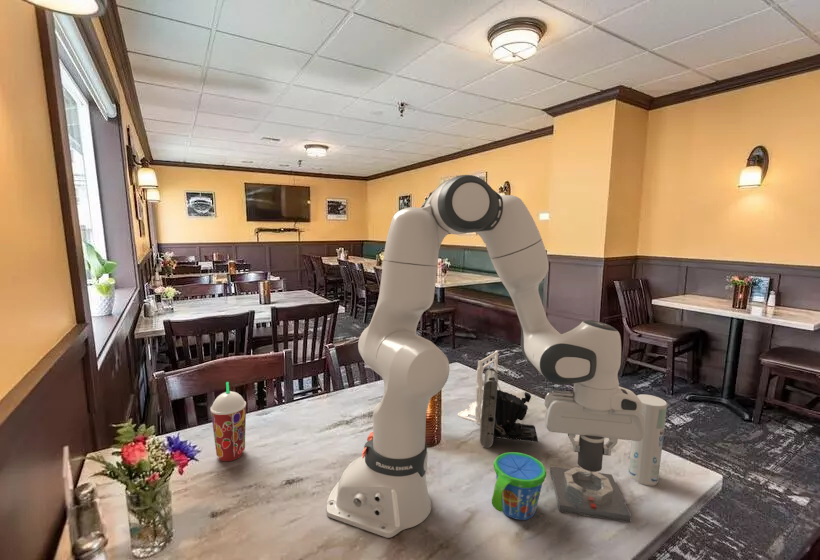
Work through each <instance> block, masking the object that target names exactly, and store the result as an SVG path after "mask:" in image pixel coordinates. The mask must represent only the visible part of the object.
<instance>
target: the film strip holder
mask: <svg viewBox="0 0 820 560" xmlns="http://www.w3.org/2000/svg"><path fill="white" fill-rule="evenodd" d="M491 359H492V360H491ZM487 361H488V362H487ZM492 363H494V364H493V365H494V367H493V369H494V370H495V371H496V372H497V373H498V366H499V365H498V363H499V350H495V351H494V352H493V353H491V354H490V355H488V356H487V357H485V358H482V359H481V360H478V361H477V368H476V389H475V401H473V402H471V403H469V404H468V408H465V410H460V411H458V413H457V417H459V418H461V419H464V420H467V421H471V422H474V423H475V424H477V425H478V426H480V423H481V413H482V402H483V391H484V389H483V387H484V379H483V374H484V370H485V368H486V367H488V366H490V365H491V364H492ZM483 364H484V365H483ZM497 385H498V387H497V389H498V390H501V391H502V389H501V386H500V384H499V382H498V383H497ZM469 416H473V417H474V418H472V417H469Z"/></svg>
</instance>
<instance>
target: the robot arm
mask: <svg viewBox="0 0 820 560" xmlns="http://www.w3.org/2000/svg"><path fill="white" fill-rule="evenodd" d="M471 233H475V234H477V235H478V236H479V237H480V238H481V240H482V241H483V243H484V244H485V247H486V250H487V253H488V256H489V259H490V261H491V264H492V265H493V268H494V270H495V272H496V274H497V275H498V278H499V279H500V281H501V283H502V284H503V286H504V287H505V290H507V291H506V292H507V293H508V294H509V296H510V299H511V301H512V304H513V307H514V311H515V313H516V315H517V319H518V323H519V325H520V331H521V332H520V333H521V335H520V350H521V353H522V355H523V357H524V358H525V359H526V360H527V361H528V362H529V363H530V364H532V365H533V367H535V369H536V370H537V371H538V372H539V373H540V374H541V375H542V376H543V378H544V379H546V380H547V381H549V382H550V383H553V384H555V385H570V384H573V391H567V390H566V391H563V390H562V391H561V390H560V391H559V390H552V391H551V392H550V391H549V392H548V393H546V395H545V397H544V405H545V414H544V426H545V428H546V429H547V431H548V432H550V433H556V434H557V433H558V434H567V436H568V439H569V441H570V443H571V445H570V446H571V450H572V452H574V453H578V452H580V444H579V441H576V440H575V439H576V436H578V435H589V436H598V437H604V439H609V440H608V441H607V442H606V443H604V447H603V456H607V457H608V456H609V457H611V456H612V450H613V449H614V447H616V445H618V441H619V440H625V441H631V440H632V441H641V440H642V439H643V438H644V437H645V419H644V416H643V414H642V413H641V410H642V403H641V401H640V399H639V398H638V397H637V395H636V394H635V393H634V391H632V390H630V389H629V388H625V387H622V386H620V383H619V382H620V381H619V377H618V376H619V375H618V374H619V371H620V368H621V362H622V339H621V338H622V337H621V334H620V332H619V331H618V329H616V328H615V327H614V326H611V325H610V324H608V323H604V322H602V321H598V320H591V319H590V320H589V319H588V320H582V321H581V323H580V324H579V325H577V326H575V327H574V328H573V329H571V330H568V331H567V332H564V333H560V332H559V331H558V329H556V328H555V327H554V326H553V325H552V324H551V323H550V321H549V319H548V317H547V314H546V311H545V308H544V307H545V306H544V305H543V302H542V299H541V296H540V292H539V286H540V283H541V282H542V281H543V280H544V279H545V277H546V276H547V274H548V272H549V268H550V266H549V259H548V253H547V250H546V246H545V244H544V241H543V238H542V236H541V233H540V231H539V229H538V227H537V223H536V222H535V220H534V218H533V216H532V215H531V213H530V211H529V209H528V207H527V206H526V204H525V202H524V201H523V200H522V199H521V198H520V197H519V196H516V195H513V194H512V195H511V194H505V195H501V194H499V193H498V192H497V191H495V190H494V189H493V188H492V187H491V186H490V184H489V183H488V182H487V181H485V180H484V179H482V178H481V177H478V176H476V175H473V174H472V175H471V174H460V175H457V176H454V177H452V178H450V179H448V180H446V181H444V182H442V183H440V184H439V185H438V186H437V187H436V188H435V189H434V190H432V192H431V193H430V194H429V195H428V197H427V198H426V199H425V201H424V203H423V204H422V206H421V207H417V206H413V207H412V206H411V207H405V208H401V209H399V210H397V212H395V214H394V215H393V217H392V219H391V222H390V226H389V228H388V232H387V236H386V241H385V246H384V252H383V260H382V268H381V278H380V285H379V292H378V293H379V294H378V299H377V303H376V307H375V309H374V312H373V315H372V317H371V320H370V323H369V325H368V326H367V327H366V328H364V330H362V333H360V336H359V338H358V342H357V343H358V344H357V347H358V353H359V355H360V356H361V358H362V360H363V361H364V362H365V364H366V366H367V367H368V368H369V369H371V370H372V371H373V372H375V373H376V374H377V375H378V376H380V377H381V378H382V381H383V384H384V388H383V394H382V398H381V400H380V401H379V402H378V403H377V404H376V405H375V406H374V408H373V412H372V431H371V432H369V435H368V437H367V439H366V440H367V441H366V442H365V445H364V446H363V447H364V448H363V450H362V453H361V454H362V455H360V456H359V457H357V458H356V459H354V460H353V461H351V462H350V463H349V464H348V465H347V466H346V468H345V470H344V471H343V473H342V474H341V477H340V480H338V482H337V483H336V484H335V485H334V487H333V488H332V490H331V492H330V494H329V496H328V497H327V501H326V507H325V512H326V516H327V517H329V518H331V519H333V520H336V521H338V522H341V523H344V524H347V525H350V526H353V527H355V528H358V529H361V530H363V531H366V532H370V533H373V534H375V535H378V536H382V537H383V538H387V539H389V538H393V537H394V536H396V535H397V534H399V533H400V532H401V531H404V530H406V529H410V528H413V527H416V526H418V525H419V524H422V522H424V521H425V520H426V519H427V517H429V515H430V513H431V510H432V500H431V497H430V494H429V490H428V484H427V475H426V472H427V470H428V469H427V468H428V447H427V446H428V444H427V441H426V421H427V411H428V407H429V404H430V401H431V399H432V397H434V396H436V395H438V393H439V392H440V391H441V390H442V389H443V388H444V387H445V385H446V383H447V381H448V378H449V375H450V362H449V359H448V357H447V355H446V354H445V353H444V352H443V351H442V350H441V349H440V348H439V347H438V346H437V345H436V344H435V343H434V342H432V341H431V340H430V339H427V338H425V337H423V336H422V335H418V334H417V328H418V324H419V322H420V319H421V318H422V315H423V314H424V312H426V311H427V310H428V309H430V308H431V307H432V305H433V303H434V298H435V290H436V282H437V272H438V266H439V265H438V263H439V251H440V249H441V245H442V242H443V241H444V239H445V238H446V237H447V236H448V235H463V234H471Z"/></svg>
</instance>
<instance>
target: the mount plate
mask: <svg viewBox="0 0 820 560" xmlns="http://www.w3.org/2000/svg"><path fill="white" fill-rule="evenodd" d="M549 470H550V473H549V474H550V477H551V481H552V486H553V492H554V495H555V499H556V503H557V508H558V511H559V512H562V513H568V514H574V515H580V516H586V517H587V516H588V517H594V518H599V519H607V520H612V521H619V522H620V521H621V522H624V523H625V522H626V523H631V519H632V515H631V512H630V510H629V509H628V506H627V504H626V502H625V500H624V497H623V496H622V494H621V491H620V489H619V487H618V485H617V483H616V481H615V478H614V477H613V475H612V474H611V473H610V474H609V473H603V472H602V473H601V472H598V471H597V472H592V471H587V470H585V469H583V468H581V467H575V466H574V467H572V468H565V467H557V466H550V469H549Z"/></svg>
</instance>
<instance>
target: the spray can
mask: <svg viewBox="0 0 820 560" xmlns="http://www.w3.org/2000/svg"><path fill="white" fill-rule="evenodd" d="M636 396H637V397H638V398H639V399H640V401H641V403H642V410H641V413H642V414H643V416H644V419H645V437H644V438H643V439H642V440H641V441H632V440H630V452H629V462H628V463H629V464H628V475H629V477H630V478H631V479H632V480H633V481H635V482H636V483H638V484H641V485H644V486H655V485H657V484H658V482H659V476H660V467H661V459H662V450H663V444H664V443H663V441H664V434H665V426H666V419H667V416H666V415H667V411H668V410H667V409H668V403H667V401H666V400H664V399H663V398H661V397H659V396H655V395H651V394H646V393H645V394H637V395H636Z"/></svg>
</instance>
